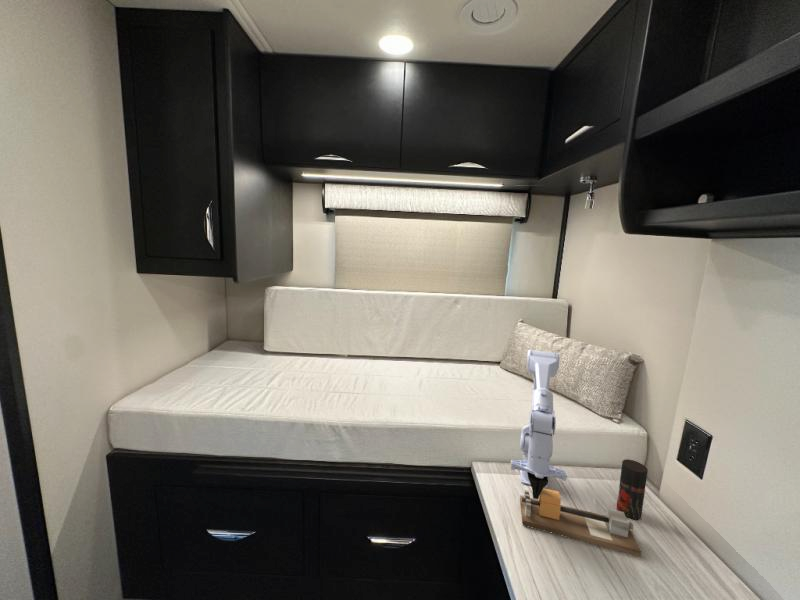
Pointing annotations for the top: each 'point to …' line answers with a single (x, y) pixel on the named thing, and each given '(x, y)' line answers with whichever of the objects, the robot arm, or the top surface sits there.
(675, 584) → the top surface
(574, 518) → the cord board
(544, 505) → the orange notched block
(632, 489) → the deodorant
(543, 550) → the top surface
